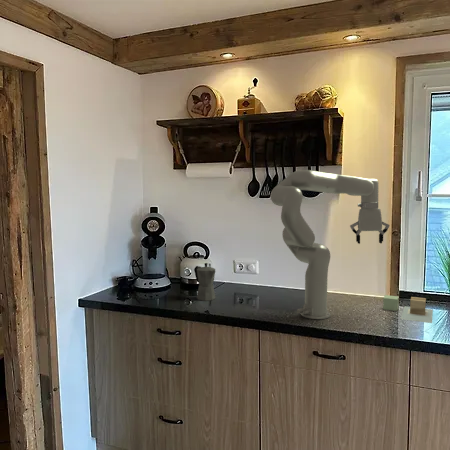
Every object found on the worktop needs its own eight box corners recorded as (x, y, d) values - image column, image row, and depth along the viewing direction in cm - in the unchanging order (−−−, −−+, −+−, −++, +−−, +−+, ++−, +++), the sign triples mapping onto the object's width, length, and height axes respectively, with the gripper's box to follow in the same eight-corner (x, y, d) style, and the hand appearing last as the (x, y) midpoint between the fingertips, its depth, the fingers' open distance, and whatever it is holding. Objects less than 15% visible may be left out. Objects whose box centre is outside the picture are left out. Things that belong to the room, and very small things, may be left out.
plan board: (432, 324, 181) (432, 323, 181) (400, 320, 186) (400, 319, 186) (432, 310, 201) (432, 309, 201) (404, 307, 206) (404, 306, 206)
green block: (397, 312, 198) (397, 299, 198) (382, 310, 201) (383, 298, 200) (398, 309, 204) (398, 296, 203) (384, 307, 206) (384, 295, 206)
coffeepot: (221, 299, 220) (221, 263, 218) (207, 302, 214) (207, 266, 212) (201, 293, 231) (201, 259, 230) (187, 296, 225) (187, 262, 223)
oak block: (424, 315, 192) (425, 301, 192) (409, 313, 195) (410, 299, 194) (425, 311, 198) (425, 298, 197) (410, 309, 200) (411, 296, 200)
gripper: (351, 207, 199) (351, 244, 200) (391, 206, 196) (391, 244, 198) (348, 205, 206) (349, 242, 208) (387, 204, 204) (387, 241, 205)
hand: (369, 243), depth 203 cm, fingers open, 9 cm apart
